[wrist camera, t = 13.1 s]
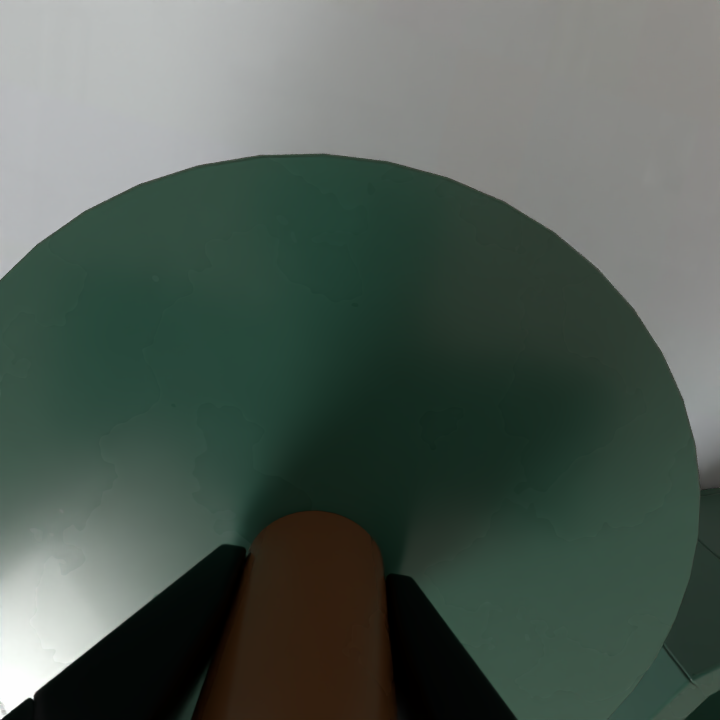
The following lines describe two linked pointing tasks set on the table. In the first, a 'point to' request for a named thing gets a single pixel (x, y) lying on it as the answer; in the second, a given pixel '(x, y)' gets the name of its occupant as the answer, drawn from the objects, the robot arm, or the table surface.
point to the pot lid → (338, 439)
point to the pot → (688, 640)
